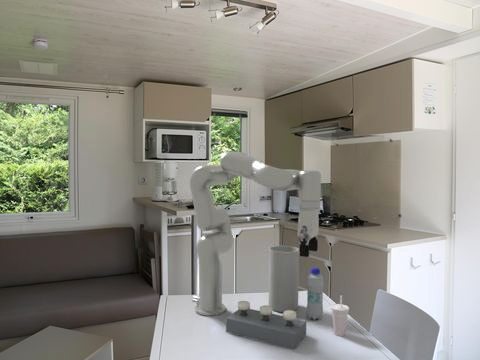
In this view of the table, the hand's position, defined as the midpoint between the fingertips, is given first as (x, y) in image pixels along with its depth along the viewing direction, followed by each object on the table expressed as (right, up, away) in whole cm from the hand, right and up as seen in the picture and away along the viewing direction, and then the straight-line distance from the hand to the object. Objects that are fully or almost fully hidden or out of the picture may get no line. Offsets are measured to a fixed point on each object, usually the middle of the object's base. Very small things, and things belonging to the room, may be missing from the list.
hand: (308, 253), depth 131 cm
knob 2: (-7, -26, -3) cm, 27 cm away
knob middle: (-15, -26, +1) cm, 30 cm away
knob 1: (-23, -26, +6) cm, 35 cm away
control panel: (-15, -29, +1) cm, 33 cm away
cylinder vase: (-6, -28, +26) cm, 39 cm away
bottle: (+5, -29, +15) cm, 33 cm away
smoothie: (+11, -29, +2) cm, 31 cm away
